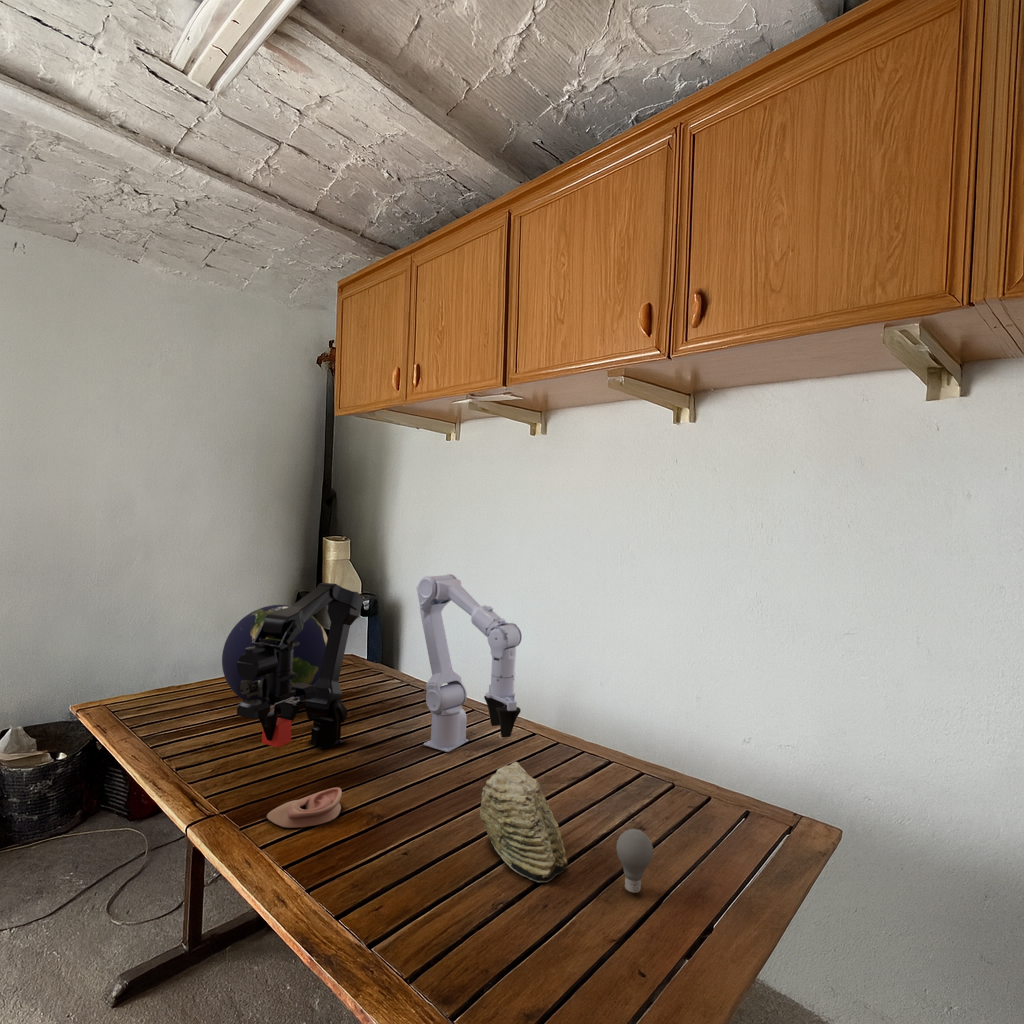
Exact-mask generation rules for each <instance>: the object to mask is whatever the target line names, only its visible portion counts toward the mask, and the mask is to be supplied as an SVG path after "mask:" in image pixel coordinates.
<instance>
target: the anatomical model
mask: <svg viewBox="0 0 1024 1024" xmlns="http://www.w3.org/2000/svg"><path fill="white" fill-rule="evenodd" d="M342 790H343V789H342V788H341V787H339V786H338V787H331V788H327V789H324V790H321V791H317V792H315V793H312V794H310V795H307V796H305V797H302V798H299V799H295V800H290V801H287V802H285V803H282V804H281V805H279V806H277V807H275V808H273V809H272V810H270V811H269V812H268V813H267V814H266V819H267V820H268V821H270V822H271V823H273V824H275V825H276V826H279V827H282V828H286V829H292V828H293V829H295V828H307V827H312V826H313V827H314V826H318V825H322V824H325V823H329V822H331V821H333V820H334V819H336V818H337V817H338V816H339V815H340V813H341V810H342V806H341V803H340V801H341V799H342V797H343V796H342V795H343V791H342Z"/></svg>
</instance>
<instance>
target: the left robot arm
mask: <svg viewBox="0 0 1024 1024" xmlns="http://www.w3.org/2000/svg"><path fill="white" fill-rule="evenodd" d="M363 603H364V601H363V597H362V596H361V594H360V592H358V591H352V590H349V589H347V588H345V587H342V586H340V585H339V584H337V583H331V582H321V583H319V584H318V585H317V587H316V588H314V589H313V590H311V591H310V592H309V593H307V594H306V595H304V596H303V597H302V598H301V599H299V600H298V601H296V602H295V603H293V604H292V605H289V606H290V607H288V608H284V609H279V610H276V611H274V612H272V613H270V614H268V615H267V616H266V617H265V619H264V621H263V623H262V625H261V627H260V629H259V631H258V633H257V635H256V637H255V639H254V641H253V643H252V645H255V646H254V647H247V648H246V649H245V654H243V655H242V656H241V657H240V658H239V660H238V662H237V671H238V673H239V675H240V676H241V677H242V678H243V679H245V680H244V681H241V684H240V691H241V694H242V695H246V694H247V698H249V697H251V696H253V695H257V694H258V697H265V700H259V699H255V698H251V699H248V700H245V701H244V700H242V701H240V702H239V703H238V704H237V706H236V716H238V717H243V718H247V719H251V720H259V722H260V725H261V727H262V731H263V730H264V733H265V735H266V738H267V740H269V741H271V740H272V738H273V735H274V731H275V727H276V723H277V719H278V717H279V713H280V718H283V719H288V720H292V723H293V722H294V721H295V719H296V717H297V715H298V713H299V711H300V710H301V709H302V707H303V706H304V708H305V711H306V715H307V719H308V720H310V721H312V722H313V723H312V727H311V730H310V731H311V732H310V733H311V735H310V739H309V740H308V743H309V744H310V745H313V746H314V747H316V748H318V749H320V750H327V749H329V748H333V747H336V746H340V745H343V744H344V743H345V741H344V740H343V739H341V737H342V735H341V733H342V723H345V720H347V718H348V714H349V710H348V709H347V707H346V706H345V705H344V703H343V702H342V698H343V691H342V688H341V686H340V683H339V682H340V676H341V671H342V666H343V661H344V657H345V652H346V647H347V642H348V637H349V633H350V628H351V625H353V623H354V622H355V621H356V620H357V619H358V618H359V616H360V612H361V609H362V607H363ZM326 606H327V616H328V618H329V621H330V626H329V630H328V635H327V638H328V639H327V643H326V648H325V653H324V657H323V662H322V666H321V671H320V675H319V679H318V680H317V682H316V683H315V684H314V685H310V684H305V683H300V682H298V683H295V684H292V679H293V678H296V673H294V672H293V647H297V646H299V642H298V641H296V640H295V639H294V638H295V637H296V636H297V635H298V634H299V633H300V632H301V631H302V630H303V625H304V623H305V622H306V621H307V620H308V619H309V618H310V617H312V616H313V617H314V615H315V614H317V613H318V612H319V611H321V610H322V609H324V608H325V607H326ZM266 637H267V638H271V639H278V640H281V641H278V640H271V639H265V638H266ZM258 677H261V680H257V681H254V682H253V681H252V679H255V678H258ZM301 695H304V701H302V700H301V701H300V698H299V696H301ZM277 704H278V705H279V707H280V708H279V709H280V712H277V711H275V709H274V706H275V705H277Z"/></svg>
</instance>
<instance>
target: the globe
mask: <svg viewBox="0 0 1024 1024" xmlns="http://www.w3.org/2000/svg"><path fill="white" fill-rule="evenodd" d="M290 606H291V605H290V604H289V605H288V604H272V605H266V606H263V607H260V608H257V609H255V610H253V611H251V612H250V613H248V614H246V615H245V616H243V618H241V619H240V620H239V621H238V622H237V623H235V625H234V627H232V629H231V631H230V632H229V634H228V635H227V637H226V640H225V642H224V645H223V649H222V654H221V666H222V672H223V676H224V678H225V679H224V680H225V681H226V683H227V685H228V687H229V688H230V689H231V691H232V692H233V693H234V694H235V695H236V696H237V697H238V698H239V699H240V700H242V701H245V700H248V699H251V698H255V699H259V700H265V697H258V694H257V695H253V696H251V697H249V698H247V694H246V695H242V694H241V691H240V684H241V681H244V680H245V679H243V678H242V677H241V676H240V675H239V673H238V671H237V662H238V660H239V658H240V657H241V656H242V655H243V654H245V649H246V648H247V647H254V646H255V645H252V643H253V641H254V639H255V637H256V635H257V633H258V631H259V629H260V627H261V625H262V623H263V621H264V619H265V617H266V616H267V615H268V614H270V613H272V612H274V611H276V610H279V609H284V608H288V607H290ZM265 639H271V638H267V637H266V638H265ZM294 639H295V640H296V641H298V642H299V646H297V647H293V672H294V673H296V678H293V679H292V684H295V683H298V682H300V683H305V684H310V685H314V684H315V683H316V682H317V680H318V679H319V675H320V671H321V666H322V662H323V657H324V653H325V648H326V643H327V639H328V635H327V633H326V631H325V629H324V627H323V626H322V624H321V623H320V621H318V619H317V618H315V616H314V615H313V616H312V617H310V618H309V619H308V620H307V621H306V622H305V623H304V625H303V630H302V631H301V632H300V633H299V634H298V635H297V636H296V637H295V638H294ZM271 640H278V639H271ZM278 641H281V640H278ZM257 680H261V677H258V678H255V679H252V681H253V682H254V681H257ZM299 698H300V701H301V702H302V701H303V700H305V698H304V695H301V696H299ZM275 709H280V707H279V705H278V704H277V705H275V706H274V710H275Z"/></svg>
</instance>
